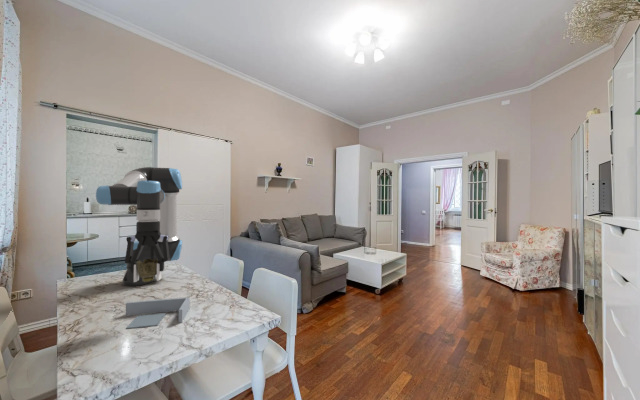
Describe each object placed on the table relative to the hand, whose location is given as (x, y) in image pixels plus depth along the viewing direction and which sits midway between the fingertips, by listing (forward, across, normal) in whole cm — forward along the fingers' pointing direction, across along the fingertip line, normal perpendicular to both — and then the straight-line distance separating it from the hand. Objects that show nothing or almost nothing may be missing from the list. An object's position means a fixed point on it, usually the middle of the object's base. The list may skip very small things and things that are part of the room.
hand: (147, 280), depth 97 cm
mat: (+16, 0, 0) cm, 16 cm away
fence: (+16, +2, +2) cm, 16 cm away
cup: (0, 0, 0) cm, 0 cm away
